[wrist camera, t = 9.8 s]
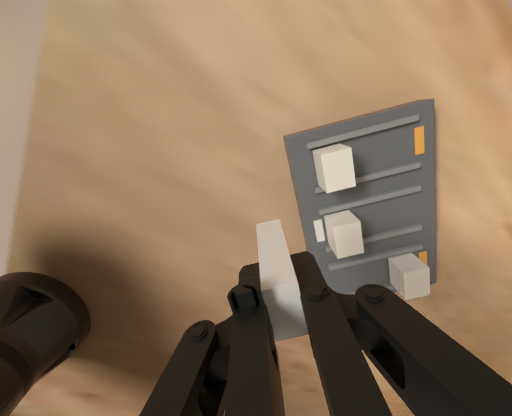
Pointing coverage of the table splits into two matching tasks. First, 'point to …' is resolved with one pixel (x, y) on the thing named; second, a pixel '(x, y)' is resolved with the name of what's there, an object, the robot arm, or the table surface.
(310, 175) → the switch panel
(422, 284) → the switch
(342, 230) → the switch middle
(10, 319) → the robot arm
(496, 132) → the table surface
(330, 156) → the switch
